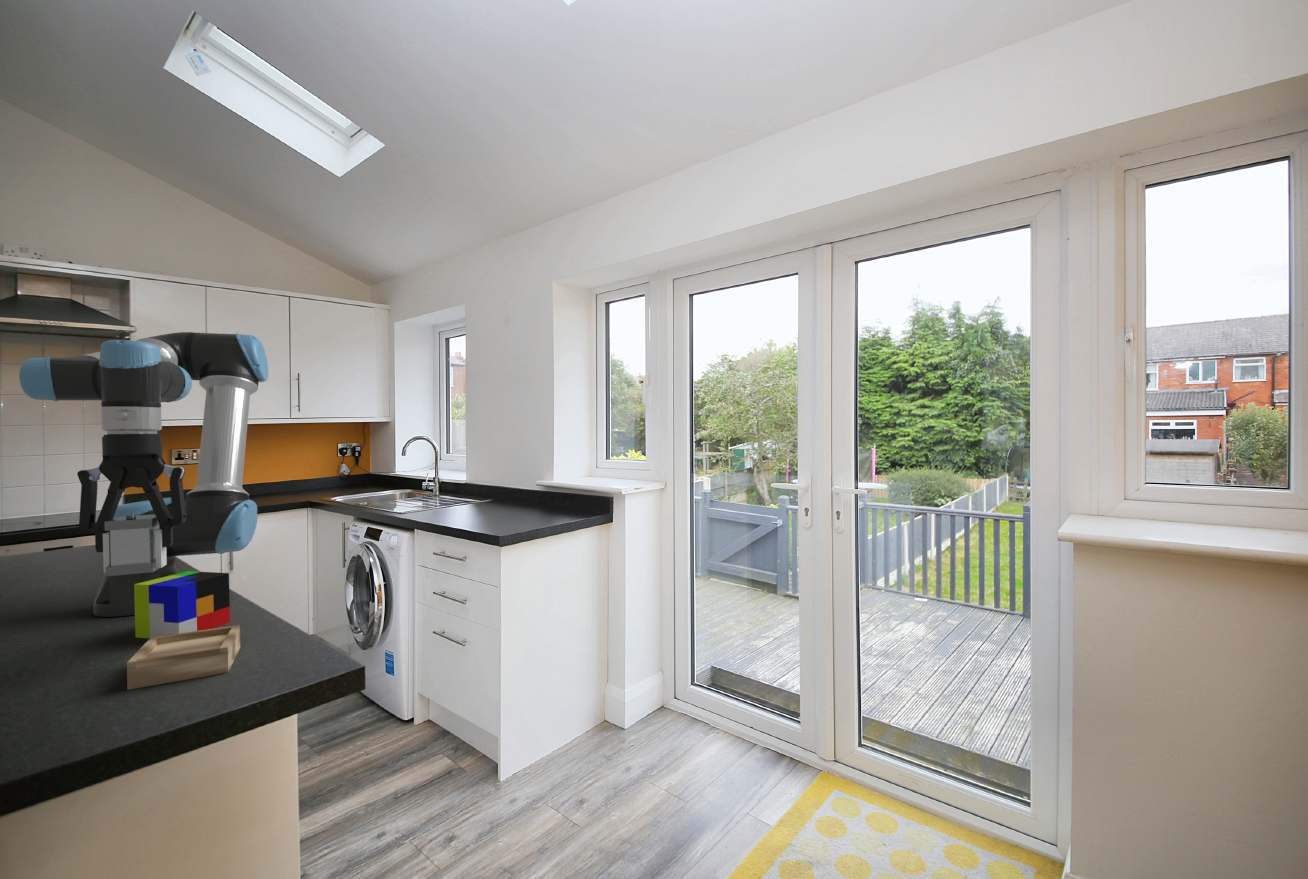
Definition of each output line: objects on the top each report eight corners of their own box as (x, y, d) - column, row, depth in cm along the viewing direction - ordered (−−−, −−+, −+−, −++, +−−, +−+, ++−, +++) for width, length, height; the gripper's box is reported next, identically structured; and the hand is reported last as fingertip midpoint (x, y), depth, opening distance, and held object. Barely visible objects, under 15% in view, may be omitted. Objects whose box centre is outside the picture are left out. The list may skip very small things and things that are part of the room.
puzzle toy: (179, 641, 104) (177, 586, 104) (135, 637, 106) (134, 584, 106) (230, 622, 114) (228, 573, 113) (189, 620, 116) (188, 571, 115)
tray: (151, 661, 94) (151, 637, 94) (240, 647, 100) (239, 624, 100) (127, 689, 84) (126, 662, 84) (228, 672, 90) (227, 647, 89)
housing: (120, 568, 98) (119, 513, 98) (164, 564, 101) (163, 510, 101) (105, 576, 93) (104, 518, 93) (153, 572, 96) (151, 515, 95)
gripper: (44, 433, 89) (48, 580, 89) (196, 432, 97) (199, 566, 98) (67, 433, 96) (71, 570, 96) (208, 432, 104) (211, 558, 104)
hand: (136, 568), depth 97 cm, fingers closed on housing, 6 cm apart
